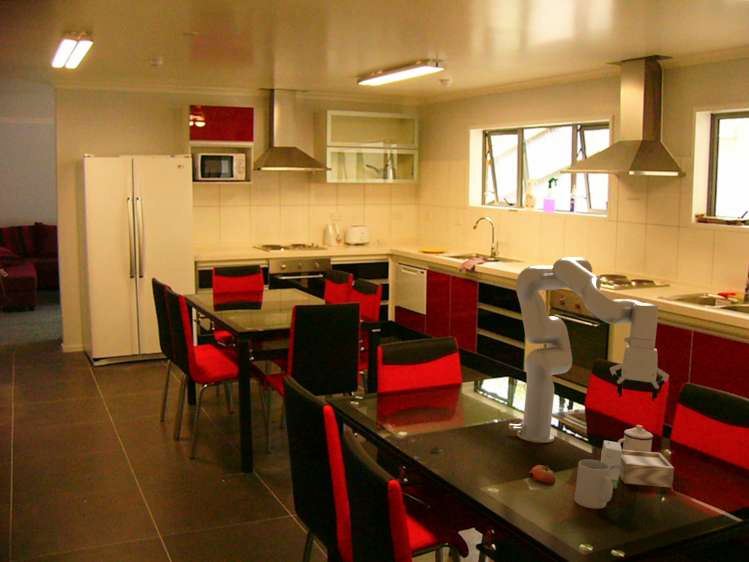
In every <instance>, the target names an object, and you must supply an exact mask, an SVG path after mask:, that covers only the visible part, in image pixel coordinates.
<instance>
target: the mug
mask: <svg viewBox="0 0 749 562" xmlns="http://www.w3.org/2000/svg"><path fill="white" fill-rule="evenodd" d="M609 473H610V466H609V465H608V464H606V463H604V462H601V460H596V459H581V460H580V461H578V466H577V475H576V484H575V493H574V501H575V503H577V505H579V506H581V507H584V508H588V509H593V510H595V509H596V510H598V509H604V508H605V507H606V506H607V503H608V502H610V501H611V499H612V497H613V489H614V488H613V484H612V481H611V479H610V478H609Z"/></svg>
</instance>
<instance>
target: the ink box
mask: <svg viewBox="0 0 749 562" xmlns="http://www.w3.org/2000/svg"><path fill="white" fill-rule="evenodd" d="M622 450H623V448H622V445H621V444H620V443H618V441H617V442H616V441H610V440H603V443H602V448H601V455H600V461H601V462H604V463H606V464H608V465H609V466H610V473H609V478H610V479H611V481H612V484H613V489H615V490H616V489H618V484H619V478H620V476H619V471H620V464H621V457H622Z"/></svg>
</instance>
